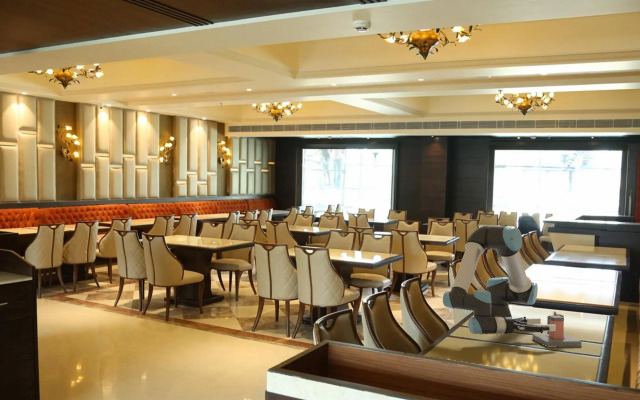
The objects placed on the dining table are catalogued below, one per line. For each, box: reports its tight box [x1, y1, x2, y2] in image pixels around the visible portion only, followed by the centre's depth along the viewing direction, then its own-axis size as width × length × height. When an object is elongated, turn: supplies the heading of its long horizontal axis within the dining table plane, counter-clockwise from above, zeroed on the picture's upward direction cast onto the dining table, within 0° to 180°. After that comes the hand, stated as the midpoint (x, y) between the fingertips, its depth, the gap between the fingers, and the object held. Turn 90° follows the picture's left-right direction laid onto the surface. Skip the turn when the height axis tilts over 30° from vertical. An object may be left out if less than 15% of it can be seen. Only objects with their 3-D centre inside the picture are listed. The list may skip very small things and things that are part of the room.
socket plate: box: [532, 333, 583, 348], centre depth 256 cm, size 14×16×2 cm
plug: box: [548, 315, 565, 339], centre depth 255 cm, size 5×5×12 cm
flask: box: [546, 311, 565, 334], centre depth 274 cm, size 9×3×11 cm, turn 109°
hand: (547, 324), depth 255 cm, fingers open, 13 cm apart
